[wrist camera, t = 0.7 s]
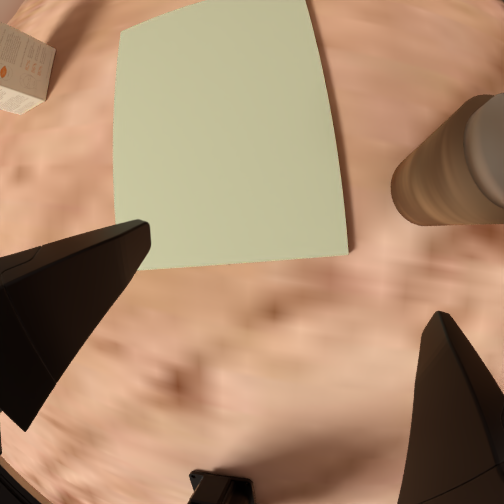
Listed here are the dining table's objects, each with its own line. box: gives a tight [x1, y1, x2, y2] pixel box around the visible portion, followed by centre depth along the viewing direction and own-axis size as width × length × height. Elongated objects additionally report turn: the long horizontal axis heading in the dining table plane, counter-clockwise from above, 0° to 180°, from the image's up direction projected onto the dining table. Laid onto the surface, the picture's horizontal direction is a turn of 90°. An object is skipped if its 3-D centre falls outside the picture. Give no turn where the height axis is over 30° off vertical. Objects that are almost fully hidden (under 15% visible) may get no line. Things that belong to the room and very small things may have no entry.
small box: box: [0, 22, 56, 115], centre depth 22 cm, size 8×6×10 cm
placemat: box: [113, 0, 349, 270], centre depth 22 cm, size 24×18×1 cm
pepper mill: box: [391, 93, 504, 226], centre depth 12 cm, size 5×5×14 cm
